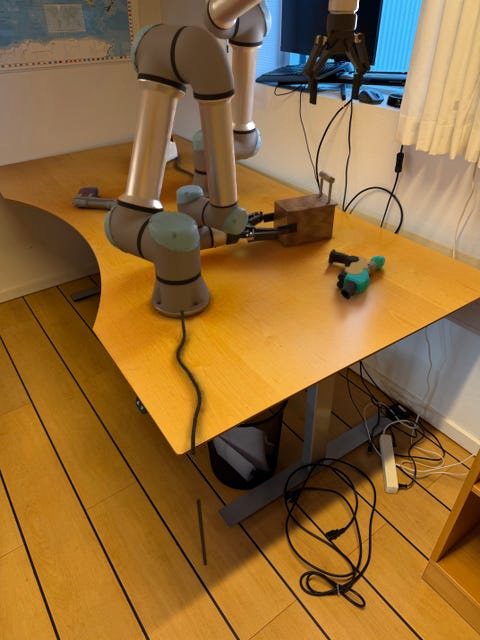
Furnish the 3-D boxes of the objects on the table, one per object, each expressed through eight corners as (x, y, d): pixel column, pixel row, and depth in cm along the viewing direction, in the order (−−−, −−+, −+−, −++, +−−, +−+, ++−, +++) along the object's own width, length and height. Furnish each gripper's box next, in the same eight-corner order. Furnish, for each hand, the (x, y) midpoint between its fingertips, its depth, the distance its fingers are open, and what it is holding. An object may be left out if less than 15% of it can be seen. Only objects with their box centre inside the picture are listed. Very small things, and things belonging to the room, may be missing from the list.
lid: (322, 195, 156) (325, 168, 151) (337, 205, 149) (340, 178, 144) (274, 203, 151) (275, 176, 146) (287, 214, 144) (288, 186, 139)
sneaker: (133, 173, 208) (129, 144, 201) (161, 153, 230) (158, 127, 223) (155, 175, 205) (151, 146, 198) (180, 155, 227) (178, 129, 220)
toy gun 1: (130, 197, 185) (114, 212, 174) (86, 194, 188) (67, 209, 177) (128, 187, 183) (112, 202, 171) (84, 184, 186) (65, 199, 174)
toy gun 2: (307, 279, 125) (363, 294, 119) (338, 241, 143) (388, 251, 138) (306, 294, 127) (360, 308, 122) (336, 254, 146) (385, 265, 140)
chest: (317, 226, 163) (320, 195, 156) (331, 237, 155) (335, 206, 149) (273, 234, 158) (274, 203, 151) (285, 246, 150) (287, 214, 144)
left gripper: (211, 230, 155) (274, 218, 162) (236, 260, 139) (304, 246, 145) (210, 208, 151) (274, 197, 157) (236, 237, 134) (306, 223, 141)
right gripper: (374, 10, 129) (363, 95, 141) (292, 13, 121) (288, 102, 134) (391, 11, 123) (378, 100, 136) (306, 15, 116) (300, 108, 128)
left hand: (289, 221), depth 151 cm, fingers closed on chest, 9 cm apart
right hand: (333, 101), depth 135 cm, fingers open, 13 cm apart
